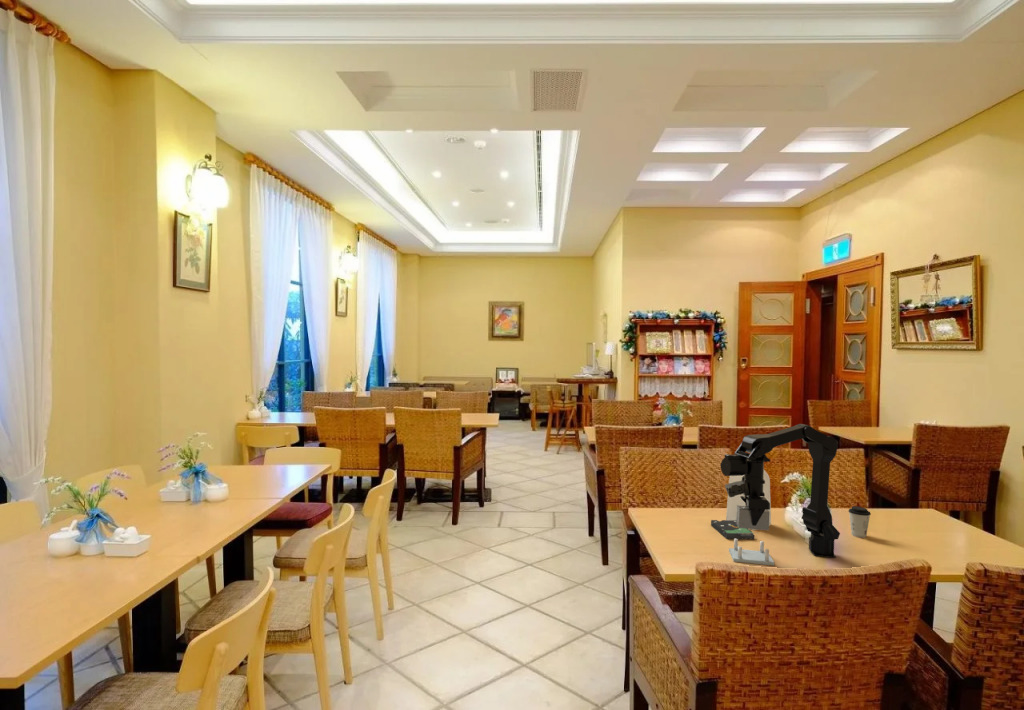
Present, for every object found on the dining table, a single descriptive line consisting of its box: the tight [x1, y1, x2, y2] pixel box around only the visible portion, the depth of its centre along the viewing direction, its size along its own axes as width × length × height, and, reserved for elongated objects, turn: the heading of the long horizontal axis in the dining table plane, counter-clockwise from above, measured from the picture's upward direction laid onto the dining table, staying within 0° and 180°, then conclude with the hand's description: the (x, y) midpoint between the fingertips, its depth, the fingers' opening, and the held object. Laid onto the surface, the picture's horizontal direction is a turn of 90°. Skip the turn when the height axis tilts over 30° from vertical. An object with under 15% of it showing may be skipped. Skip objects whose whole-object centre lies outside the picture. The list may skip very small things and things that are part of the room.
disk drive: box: [710, 519, 756, 540], centre depth 199 cm, size 10×3×15 cm
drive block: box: [736, 505, 770, 532], centre depth 174 cm, size 9×4×6 cm, turn 77°
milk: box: [725, 469, 772, 531], centre depth 209 cm, size 12×12×26 cm
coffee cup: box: [848, 505, 872, 538], centre depth 197 cm, size 7×7×10 cm
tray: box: [728, 539, 775, 566], centre depth 174 cm, size 12×9×4 cm
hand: (752, 523), depth 174 cm, fingers closed on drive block, 4 cm apart
